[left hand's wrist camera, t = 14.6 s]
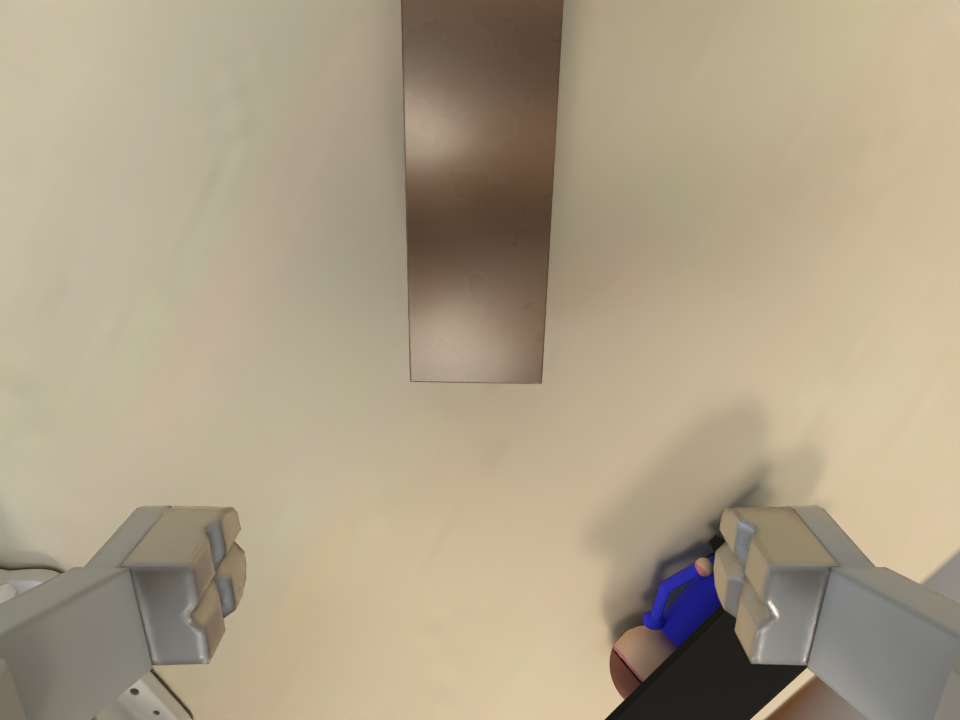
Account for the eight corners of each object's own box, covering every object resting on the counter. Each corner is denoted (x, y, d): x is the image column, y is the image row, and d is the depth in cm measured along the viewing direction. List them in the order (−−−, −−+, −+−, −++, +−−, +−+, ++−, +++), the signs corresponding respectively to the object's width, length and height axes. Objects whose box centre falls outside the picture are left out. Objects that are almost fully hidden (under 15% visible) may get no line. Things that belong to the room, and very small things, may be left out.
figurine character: (723, 467, 38) (575, 644, 41) (791, 534, 31) (605, 743, 34) (802, 521, 40) (653, 689, 43) (884, 596, 33) (698, 793, 35)
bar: (527, 323, 34) (542, 384, 26) (425, 322, 34) (409, 382, 26) (552, -214, 26) (583, -357, 18) (418, -217, 26) (392, -361, 18)
